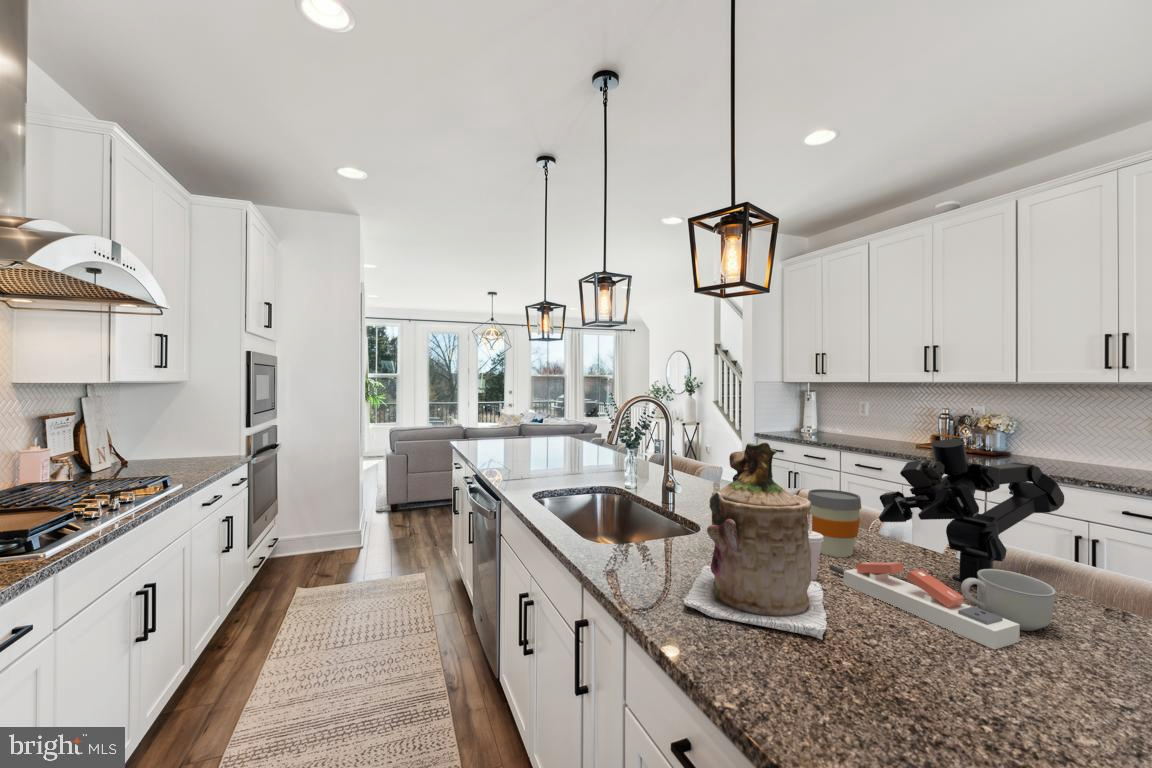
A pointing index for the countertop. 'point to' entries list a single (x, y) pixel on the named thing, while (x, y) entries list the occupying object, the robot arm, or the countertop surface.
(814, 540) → the smoothie
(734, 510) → the cookie jar
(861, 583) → the power strip
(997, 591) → the teacup
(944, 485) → the robot arm
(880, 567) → the rocker
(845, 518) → the reusable coffee cup
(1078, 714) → the countertop surface
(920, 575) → the block
